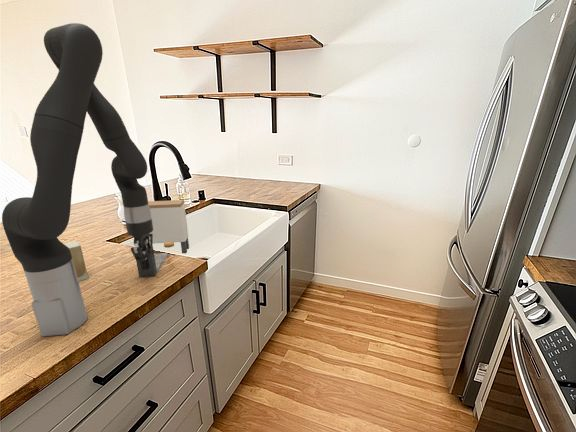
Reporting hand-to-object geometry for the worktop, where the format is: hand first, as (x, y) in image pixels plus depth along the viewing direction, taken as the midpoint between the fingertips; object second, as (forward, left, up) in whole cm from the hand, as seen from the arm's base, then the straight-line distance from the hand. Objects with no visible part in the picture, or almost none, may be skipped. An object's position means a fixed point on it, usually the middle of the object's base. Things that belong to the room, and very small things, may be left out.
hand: (146, 267), depth 98 cm
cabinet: (+19, 0, -3) cm, 19 cm away
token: (+25, 0, -3) cm, 25 cm away
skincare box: (+1, +23, -3) cm, 23 cm away
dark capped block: (+7, 0, -3) cm, 8 cm away
